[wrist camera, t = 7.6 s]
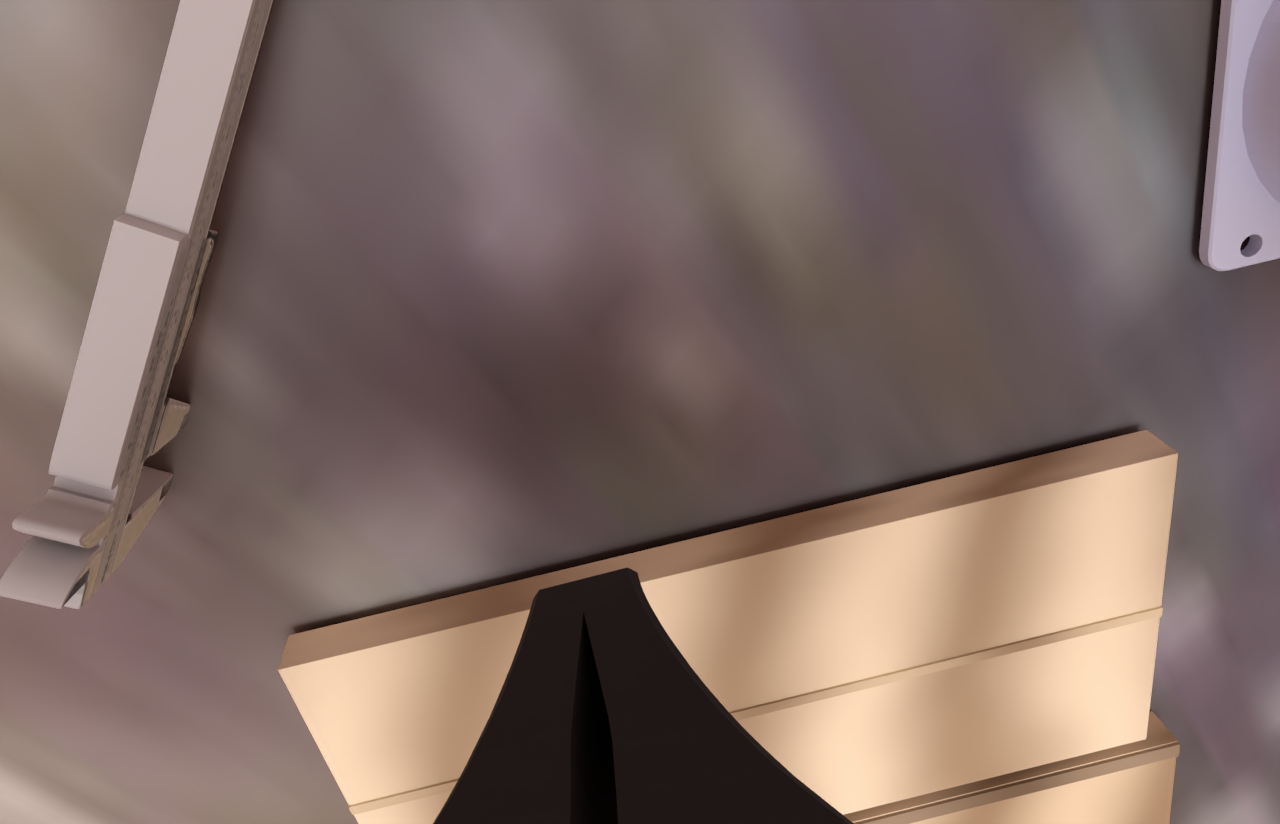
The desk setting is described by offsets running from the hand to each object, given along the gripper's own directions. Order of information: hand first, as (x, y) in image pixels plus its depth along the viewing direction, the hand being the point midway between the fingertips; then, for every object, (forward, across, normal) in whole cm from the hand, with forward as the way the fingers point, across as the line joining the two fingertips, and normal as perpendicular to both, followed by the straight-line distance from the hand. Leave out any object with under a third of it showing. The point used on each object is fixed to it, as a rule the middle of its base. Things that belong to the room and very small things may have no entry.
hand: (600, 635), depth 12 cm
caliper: (+10, +4, -8) cm, 13 cm away
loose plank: (+9, -3, +10) cm, 14 cm away
